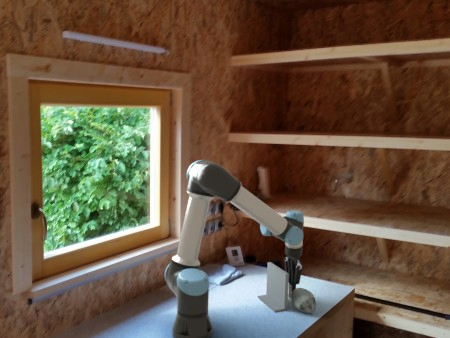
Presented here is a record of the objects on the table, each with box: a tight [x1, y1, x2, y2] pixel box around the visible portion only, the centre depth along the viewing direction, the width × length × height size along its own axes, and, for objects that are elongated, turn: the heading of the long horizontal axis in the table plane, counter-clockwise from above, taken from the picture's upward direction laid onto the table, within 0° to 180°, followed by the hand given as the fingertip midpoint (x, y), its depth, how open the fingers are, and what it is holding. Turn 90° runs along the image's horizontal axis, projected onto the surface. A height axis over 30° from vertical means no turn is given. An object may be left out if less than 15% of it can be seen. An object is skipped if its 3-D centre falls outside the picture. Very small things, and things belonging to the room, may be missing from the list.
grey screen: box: [257, 261, 289, 313], centre depth 201 cm, size 6×16×16 cm, turn 23°
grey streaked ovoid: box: [290, 287, 317, 315], centre depth 197 cm, size 14×10×10 cm
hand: (291, 297), depth 206 cm, fingers closed
